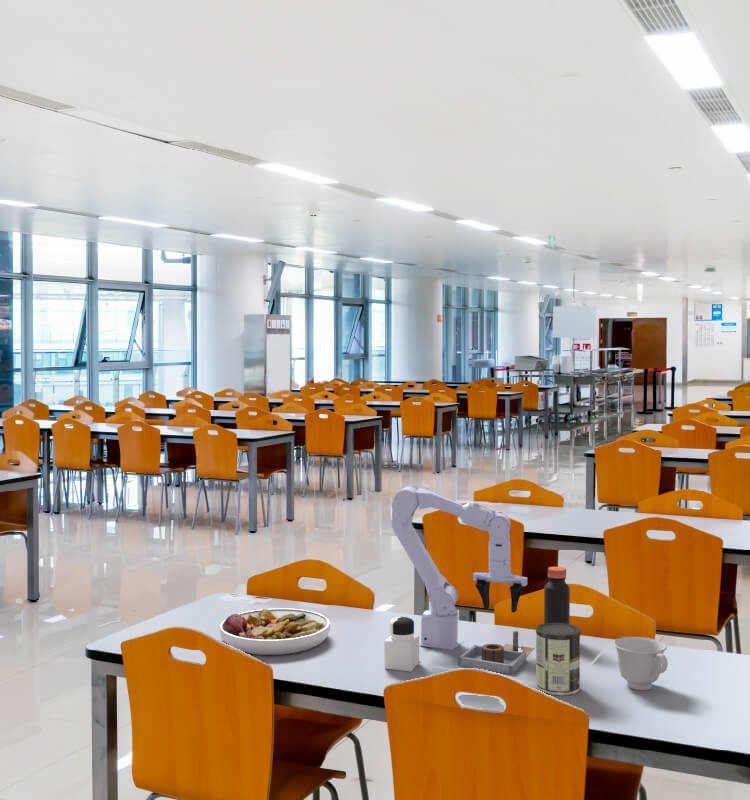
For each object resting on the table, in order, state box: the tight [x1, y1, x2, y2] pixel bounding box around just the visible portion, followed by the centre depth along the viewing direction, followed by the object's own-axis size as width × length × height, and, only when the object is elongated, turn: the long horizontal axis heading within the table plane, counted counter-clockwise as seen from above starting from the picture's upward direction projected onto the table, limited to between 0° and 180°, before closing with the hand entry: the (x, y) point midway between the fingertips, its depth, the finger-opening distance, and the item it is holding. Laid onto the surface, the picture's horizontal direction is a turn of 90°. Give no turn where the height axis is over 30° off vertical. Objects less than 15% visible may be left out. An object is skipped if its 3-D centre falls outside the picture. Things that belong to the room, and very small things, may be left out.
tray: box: [458, 644, 527, 675], centre depth 230 cm, size 14×11×2 cm
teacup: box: [613, 636, 668, 691], centre depth 213 cm, size 12×15×10 cm
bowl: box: [219, 607, 331, 656], centre depth 250 cm, size 30×30×8 cm
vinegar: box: [543, 566, 571, 624], centre depth 248 cm, size 7×7×20 cm
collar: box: [481, 643, 504, 663], centre depth 230 cm, size 5×5×4 cm
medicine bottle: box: [383, 616, 420, 672], centre depth 229 cm, size 7×7×12 cm
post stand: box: [502, 630, 536, 657], centre depth 239 cm, size 8×8×6 cm
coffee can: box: [535, 622, 581, 696], centre depth 214 cm, size 10×10×14 cm
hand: (500, 609), depth 242 cm, fingers open, 7 cm apart
